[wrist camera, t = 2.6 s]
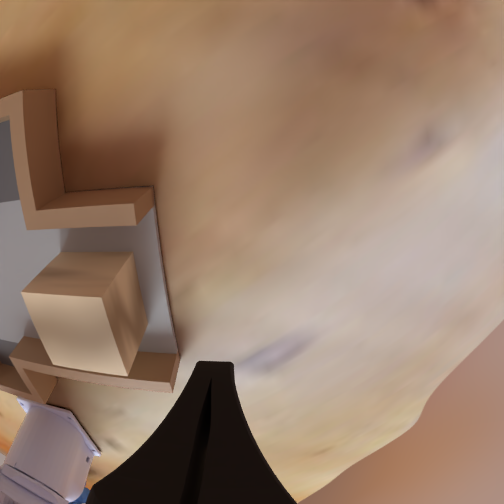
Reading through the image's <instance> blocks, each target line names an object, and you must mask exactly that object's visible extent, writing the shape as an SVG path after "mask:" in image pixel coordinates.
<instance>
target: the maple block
mask: <svg viewBox="0 0 504 504" xmlns="http://www.w3.org/2000/svg"><path fill="white" fill-rule="evenodd" d="M21 294H22V296H23V299H24V302H25V304H26V307H27V309H28V312H29V314H30V316H31V319H32V321H33V323H34V326H35V328H36V330H37V332H38V335H39V337H40V339H41V341H42V343H43V345H44V347H45V349H46V352H47V354H48V356H49V358H50V359H51V361H52V363H53V365H58V366H63V367H68V368H74V369H80V370H86V371H92V372H99V373H106V374H113V375H121V376H128V375H129V372H130V370H131V367H132V364H133V362H134V359H135V356H136V354H137V351H138V349H139V346H140V343H141V341H142V338H143V336H144V333H145V331H146V328H147V326H148V321H147V317H146V312H145V308H144V304H143V299H142V294H141V290H140V285H139V280H138V275H137V270H136V265H135V259H134V254H133V252H60V253H59V254H58V255H57V256H56V257H55V258H54V259H53V260H52V261H51V262H50V263H49V264H48V265H47V266H46V267H45V268H44V269H43V270H42V271H41V272H40V273H39V274H38V275H37V276H36V277H35V278H34V279H33V280H32V281H31V282H30V283H29V284H28V285H27V286H26V287H25V288H24V289H23V290H22V291H21Z"/></svg>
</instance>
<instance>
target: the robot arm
mask: <svg viewBox="0 0 504 504" xmlns="http://www.w3.org/2000/svg"><path fill="white" fill-rule="evenodd" d="M17 401H18V402H19V403H20V405H21V406H22V408H23V409H24V410H25V412H26V413H27V414H26V416H25V418H24V420H23V422H22V424H21V426H20V428H19V431H18V433H17V435H16V437H15V439H14V441H13V443H12V445H11V447H10V450H9V452H8V454H7V456H6V459H5V461H4V463H3V465H1V466H0V504H68V503H69V502H72V501H74V500H76V499H77V498H78V497H79V496H80V495H81V494H82V492H83V489H84V486H85V482H86V479H87V476H88V472H89V469H90V466H91V463H92V460H93V456H94V455H95V456H101V452H100V451H99V450H98V449H97V447H96V446H95V445H94V443H93V442H92V441H91V439H90V438H89V437H88V435H87V434H86V432H85V431H84V430H83V428H82V427H81V425H80V424H79V422H78V421H77V419H76V418H75V417H74V415H73V414H72V412H70V411H69V410H66V409H62V408H58V407H54V406H50V405H47V404H42V403H38V402H35V401H32V400H28V399H25V398H22V397H19V396H18V397H17ZM86 504H297V503H296V501H295V500H294V499H293V498H292V497H291V496H290V494H289V493H288V492H287V490H286V489H285V488H284V487H283V485H282V484H281V482H280V481H279V480H278V478H277V477H276V475H275V474H274V472H273V471H272V469H271V468H270V466H269V464H268V463H267V461H266V460H265V458H264V456H263V454H262V453H261V451H260V449H259V447H258V445H257V443H256V441H255V439H254V437H253V435H252V433H251V431H250V428H249V426H248V424H247V421H246V419H245V416H244V413H243V411H242V408H241V404H240V401H239V398H238V394H237V390H236V386H235V378H234V364H233V363H232V362H217V361H198V362H197V363H196V366H195V368H194V370H193V372H192V375H191V377H190V379H189V380H188V382H187V384H186V386H185V388H184V390H183V391H182V393H181V395H180V396H179V398H178V400H177V401H176V403H175V404H174V406H173V407H172V409H171V410H170V412H169V413H168V414H167V416H166V417H165V419H164V420H163V421H162V423H161V424H160V425H159V427H158V428H157V429H156V430H155V431H154V433H153V434H152V435H151V436H150V437H149V438H148V440H147V441H146V442H145V443H144V444H143V445H142V446H141V447H140V448H139V449H138V450H137V451H136V452H135V453H134V454H133V455H132V456H131V457H129V458H128V459H127V460H126V461H125V462H124V463H123V464H121V465H120V466H119V467H118V468H117V469H115V470H114V471H113V472H111V473H110V474H109V475H107V476H106V477H104V478H103V479H101V480H100V481H99V482H97V483H96V484H94V485H93V486H92V488H91V490H90V493H89V495H88V497H87V500H86Z"/></svg>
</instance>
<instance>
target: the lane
mask: <svg viewBox="0 0 504 504" xmlns="http://www.w3.org/2000/svg"><path fill="white" fill-rule="evenodd" d="M60 252H133V254H134V259H135V265H136V270H137V275H138V280H139V285H140V290H141V294H142V299H143V304H144V308H145V312H146V317H147V321H148V326H147V328H146V331H145V333H144V336H143V338H142V341H141V343H140V346H139V349H138V351H137V354H136V356H135V359H134V362H133V364H132V367H131V370H130V372H129V375H128V376H121V375H113V374H106V373H99V372H92V371H86V370H80V369H74V368H68V367H63V366H58V365H53V363H52V361H51V359H50V358H49V356H48V354H47V352H46V349H45V347H44V345H43V343H42V341H41V339H40V337H39V335H38V332H37V330H36V328H35V326H34V323H33V321H32V319H31V316H30V314H29V312H28V309H27V307H26V304H25V302H24V299H23V296H22V294H21V291H22V290H23V289H24V288H25V287H26V286H27V285H28V284H29V283H30V282H31V281H32V280H33V279H34V278H35V277H36V276H37V275H38V274H39V273H40V272H41V271H42V270H43V269H44V268H45V267H46V266H47V265H48V264H49V263H50V262H51V261H52V260H53V259H54V258H55V257H56V256H57V255H58V254H59V253H60ZM179 363H180V357H179V352H178V347H177V343H176V338H175V332H174V327H173V322H172V317H171V311H170V306H169V300H168V294H167V288H166V282H165V275H164V269H163V262H162V255H161V248H160V240H159V233H158V224H157V216H156V207H155V197H154V187H153V186H140V187H125V188H112V189H100V190H89V191H79V192H69V193H65V188H64V182H63V175H62V167H61V159H60V151H59V141H58V129H57V114H56V90H55V89H36V90H21V91H19V92H16V93H14V94H11V95H8V96H6V97H3V98H1V99H0V390H2V391H5V392H7V393H10V394H13V395H16V396H19V397H22V398H25V399H28V400H32V401H35V402H38V403H42V404H46V403H47V401H48V399H49V397H50V395H51V393H52V391H53V389H54V387H55V385H56V383H57V381H58V380H57V378H56V376H58V377H63V378H68V379H73V380H78V381H83V382H89V383H95V384H101V385H108V386H114V387H122V388H129V389H138V390H147V391H157V392H168V393H173V389H174V385H175V380H176V376H177V372H178V367H179Z"/></svg>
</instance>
